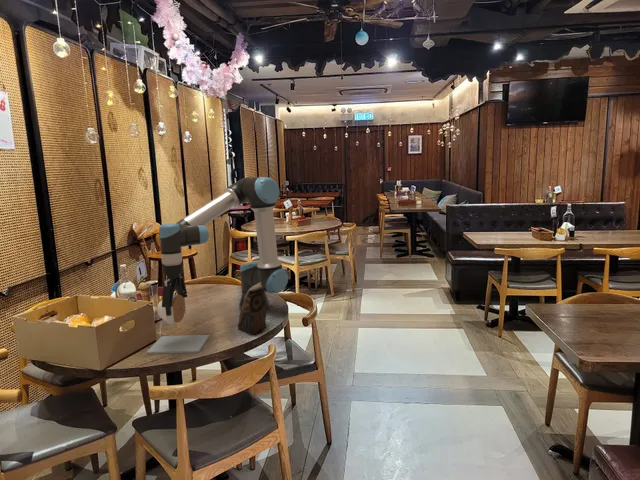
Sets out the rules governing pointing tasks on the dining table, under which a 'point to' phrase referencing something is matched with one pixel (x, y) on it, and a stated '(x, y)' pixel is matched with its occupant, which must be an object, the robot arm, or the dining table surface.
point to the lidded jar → (177, 305)
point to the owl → (253, 311)
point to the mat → (179, 344)
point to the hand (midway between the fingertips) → (176, 318)
